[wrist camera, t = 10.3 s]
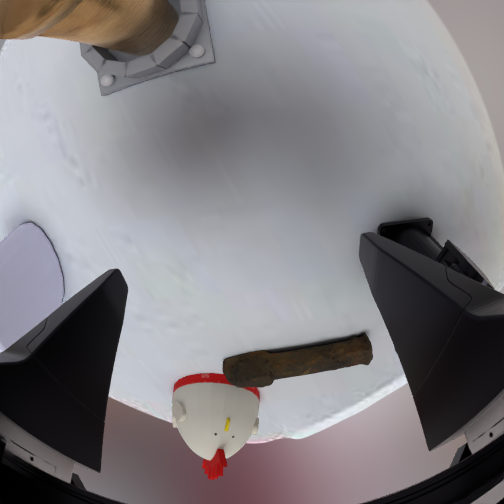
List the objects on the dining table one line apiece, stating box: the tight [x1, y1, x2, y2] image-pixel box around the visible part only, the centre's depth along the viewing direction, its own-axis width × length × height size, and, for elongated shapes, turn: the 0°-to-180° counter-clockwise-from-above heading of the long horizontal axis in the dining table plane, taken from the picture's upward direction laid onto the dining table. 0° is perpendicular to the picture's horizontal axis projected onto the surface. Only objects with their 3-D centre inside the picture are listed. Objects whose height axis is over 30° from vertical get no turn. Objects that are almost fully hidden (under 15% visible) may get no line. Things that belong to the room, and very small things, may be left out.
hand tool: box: [223, 334, 373, 388], centre depth 31 cm, size 19×4×5 cm, turn 95°
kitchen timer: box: [172, 373, 260, 480], centre depth 33 cm, size 14×14×15 cm
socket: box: [80, 0, 215, 96], centre depth 12 cm, size 9×9×3 cm
